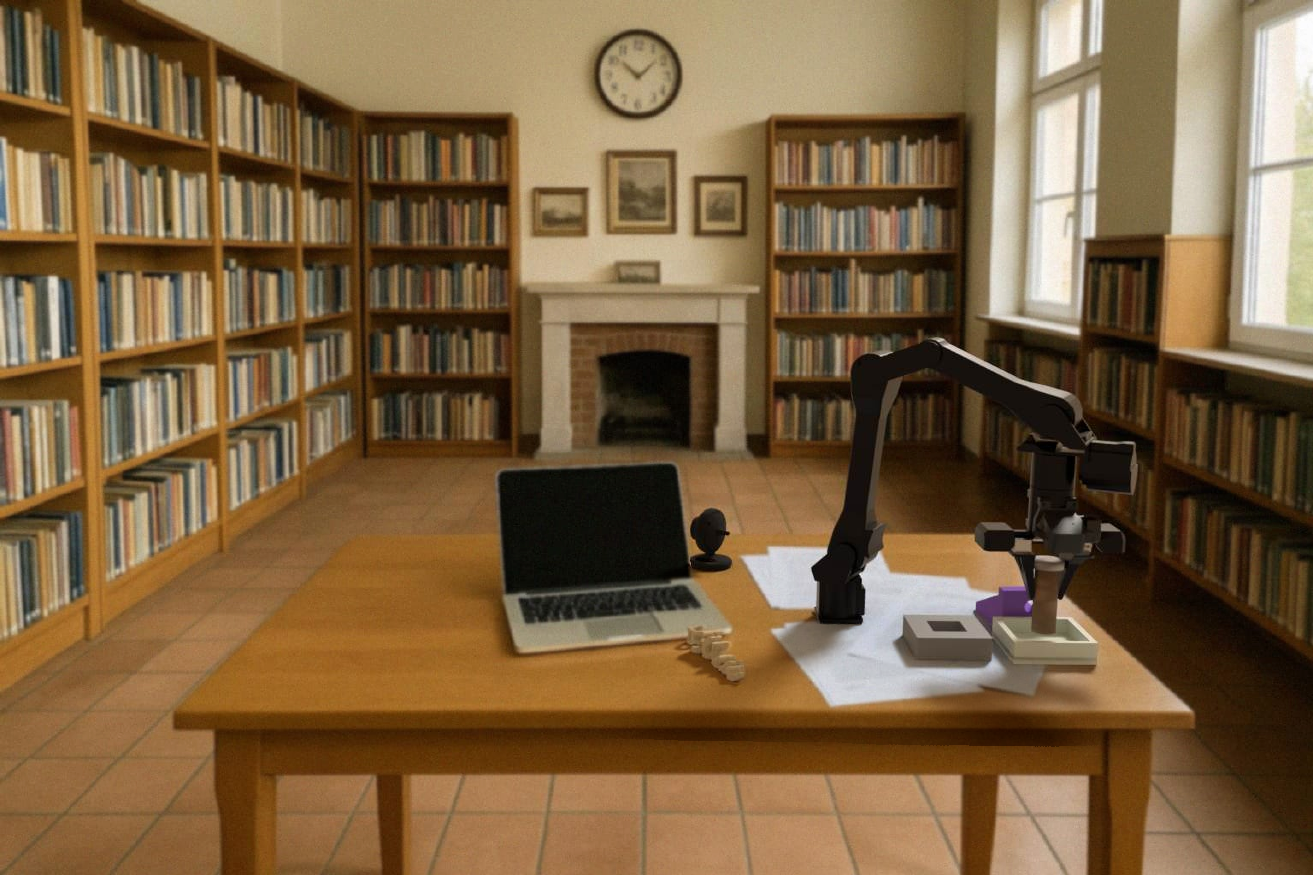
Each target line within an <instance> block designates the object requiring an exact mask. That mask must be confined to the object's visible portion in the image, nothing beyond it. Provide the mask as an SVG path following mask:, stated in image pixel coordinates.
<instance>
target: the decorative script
mask: <svg viewBox="0 0 1313 875" xmlns="http://www.w3.org/2000/svg"><path fill="white" fill-rule="evenodd" d="M686 629H687V639H686V643H687V645H689V646H691V647H690V652H692V653H693V654H701V656H702V658H704V659H706V660H711V666H712V667H714V668H715V669H718V672H721V674H723V675H726V679H727V680H728V681H731V682H737V681H740V680H741V679H744V678H745V676H746V675H745V674H746V673H745V671H746V670H745V668H746V667H745V665H744V664H745V663H744V662H745V661H744V659H739V660H737V658H736V656H735V655H734V654H723V652H725V651H727V650H728V649H729V648H730V642H729V641H728V640H723V633H724V631H723V630H722V629H719V628H716V629H711V630H710V629H709V630H707V626H706V625H705V624H702V625H701V624H700V625H698V626H687V627H686ZM736 660H737V661H736Z"/></svg>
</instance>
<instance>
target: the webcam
mask: <svg viewBox="0 0 1313 875" xmlns="http://www.w3.org/2000/svg"><path fill="white" fill-rule="evenodd" d="M689 527H690V528H689V534H690V537H691V539H692V540H694V541H695V544H696V547H697V548H698V550H700V552H703V553H697V554H694V555H691V556H690V557H689V558H690V562H691V566H692V567H691V566H690V567H691V568H693V569H695V570H698V571H707V572H710V571H711V572H716V571H723V570H727V569H729V568H731V566H733V560H732V558H731V557H730V556H728V555H726V554H721V553H716V552H717V551H718V550H719V549H720V548H721V546H722V545H723V544H724V541H725V540H726V539H725V538H726V536H728V537H729V536H730V535H731V532H730V531H727V520H726V516H725V514H724V513H723V511H722V510H720V509H718V508H714V507H709V508H706V509H704V510H703V511H702V512H701V513H700V514H699V515H698V516H695V517H694V518H693V520H691V523H690V526H689Z"/></svg>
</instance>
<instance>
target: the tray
mask: <svg viewBox="0 0 1313 875" xmlns="http://www.w3.org/2000/svg"><path fill="white" fill-rule="evenodd" d="M1031 622H1032V617H993V624H992V625H991V627H992V628H991V629H992V630H991V637H992V638H993V641H994V642H995V643H996V644H997V646H998V647H999V648H1000V649H1001V651H1003V653H1004V654H1005V655H1006V657H1007V658H1008V659H1009V660H1010V662H1011V663H1012V664H1013V665H1061V666H1064V665H1066V666H1067V665H1069V666H1070V665H1077V666H1078V665H1079V666H1080V665H1081V666H1082V665H1083V666H1087V665H1088V666H1089V665H1090V666H1092V665H1093V666H1097V665H1098V651H1099V649H1098V648H1099V642H1098V641H1097V640H1095V638H1094V637H1092V636H1091V634H1090V633H1088V632H1087V630H1085V629H1084V628H1083V627H1082V626H1081V625H1080V624H1079V623H1078V622H1077V621H1076V620H1075V619H1074V618H1073V617H1072V616H1067V617H1066V616H1057V618H1056V633H1055V634H1051V635H1043V634H1037V633H1034V632H1032V631H1031Z"/></svg>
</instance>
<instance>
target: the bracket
mask: <svg viewBox="0 0 1313 875" xmlns="http://www.w3.org/2000/svg"><path fill="white" fill-rule="evenodd" d="M1030 601H1032V600H1030V599H1029V598H1028V595H1027V592H1026V589H1025V586H1024V585H1023V586H998V594H997V595H992V596H990V597H987V598H984V599H981V600H977V601H976V602H975V610H976V612H977V613H978V614H979V615H980V616H982V618H983V619H984V620H985V621H986V622H987V623H989V624H990V626H992V624H993V617H1032V606H1033V603H1030Z"/></svg>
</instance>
